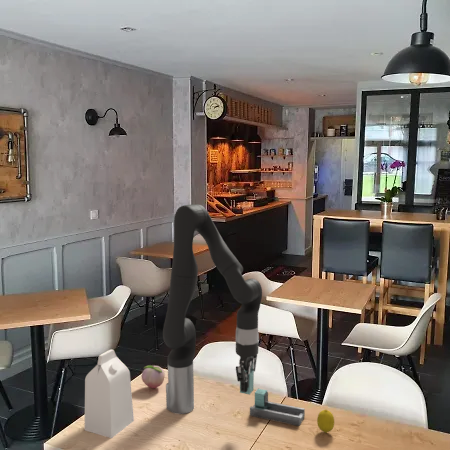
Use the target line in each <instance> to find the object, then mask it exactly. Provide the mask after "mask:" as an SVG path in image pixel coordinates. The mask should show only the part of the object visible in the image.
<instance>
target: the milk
mask: <svg viewBox="0 0 450 450" xmlns="http://www.w3.org/2000/svg"><path fill="white" fill-rule="evenodd" d="M131 382H132V381H131V372H130V370H129V368H128V367H127V366H126V364H125V363H123V362H122V361H121V359H119V357H118V356H117V354H116V352H115V350H114V349H108V350H107V351H105V352H103V353H101V354H99V355H98V360H97V364H96V365H95V366H94V367H93V368H92V369H91V370H90V371H89V372H88V373H87V374H86V376H85V379H84V431H86V432H89V433H94V434H96V435H99V436H103V437H106V438H110V439H113V438H114V437H115V436H117V435H118V434H119V433H121V431H123V430H125V428H126V427H129V425H131V424H132V423H133V422H134V421H135V418H134V417H135V416H134V408H133V407H134V406H133V395H132V394H133V393H132V383H131Z"/></svg>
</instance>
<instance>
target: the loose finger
mask: <svg viewBox="0 0 450 450" xmlns="http://www.w3.org/2000/svg"><path fill="white" fill-rule="evenodd" d="M245 372H247V371H245ZM254 373H255V372H254V370H253V371H252V370H250V374H249V375H248V385H247V388H248V389H247V392H246V393H245V392H241V382H240V381H239V393H240V394H244V395H249V396H250V395H251V394H252V393H253V391H254V385H255V384H254V377H255V375H254ZM245 376H246V375H245Z"/></svg>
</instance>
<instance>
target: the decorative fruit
mask: <svg viewBox="0 0 450 450" xmlns="http://www.w3.org/2000/svg"><path fill="white" fill-rule="evenodd" d="M142 368H143V369H144V370H142V372H141V380H142V382H143V384H145V385H146V386H147V387H148V388H151V389H156V388H159V387H160V386H162V384H163V383H164V381H165V377H166V376H165V375H166V374H165V370H164V369H163V368H162V367H160V366H159V365H146V366H144V367H142Z"/></svg>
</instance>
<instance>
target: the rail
mask: <svg viewBox="0 0 450 450" xmlns="http://www.w3.org/2000/svg"><path fill="white" fill-rule="evenodd" d="M305 410H306V409H305V408H304V407H298V406H293V405H288V404H284V403H283V404H282V403H279V402H273V401H269V392H268V390H267V389H262V388H257V389H256V390H255V392H254V404H253V405H251V406H250V407H249V416H250V417H254V418H259V419H264V420H269V421H274V422H278V423H283V424H288V425H293V426H298V427H300V426H301V424H302V422H303V421H304V418H305V417H306V416H305V415H306V414H305V413H306V411H305Z"/></svg>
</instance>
